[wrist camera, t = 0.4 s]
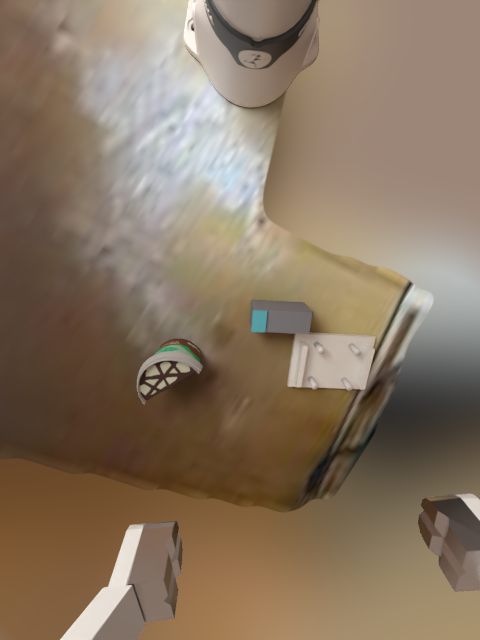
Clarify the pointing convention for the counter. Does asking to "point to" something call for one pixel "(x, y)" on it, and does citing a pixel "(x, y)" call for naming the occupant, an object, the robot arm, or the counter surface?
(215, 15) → the robot arm
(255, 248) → the counter surface
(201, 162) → the counter surface
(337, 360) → the pin tray
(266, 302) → the block
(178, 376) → the food container
